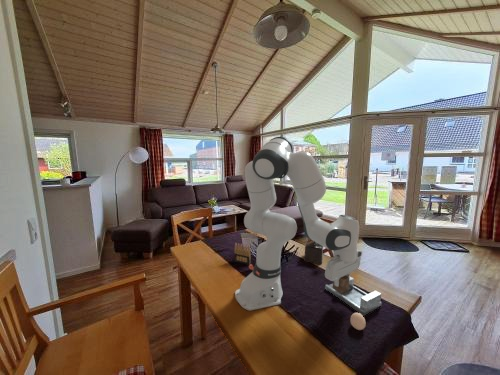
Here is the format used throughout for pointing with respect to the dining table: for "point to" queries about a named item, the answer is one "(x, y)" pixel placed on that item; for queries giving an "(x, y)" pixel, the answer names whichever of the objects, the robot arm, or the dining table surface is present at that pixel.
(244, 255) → the ammunition clip
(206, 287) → the dining table surface
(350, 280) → the free jaw
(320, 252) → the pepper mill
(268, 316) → the dining table surface
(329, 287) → the vise
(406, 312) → the dining table surface
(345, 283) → the block
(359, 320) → the egg
